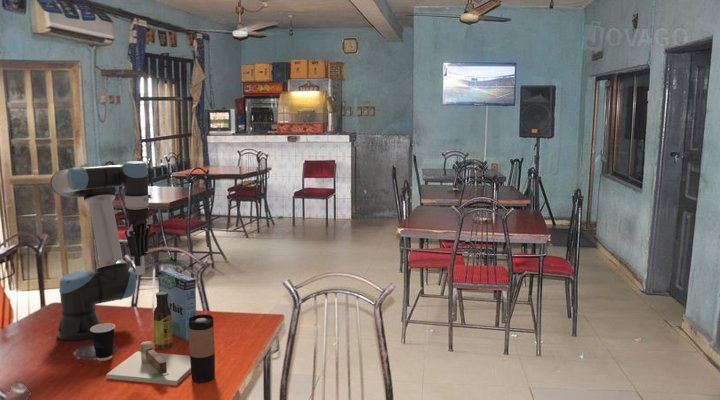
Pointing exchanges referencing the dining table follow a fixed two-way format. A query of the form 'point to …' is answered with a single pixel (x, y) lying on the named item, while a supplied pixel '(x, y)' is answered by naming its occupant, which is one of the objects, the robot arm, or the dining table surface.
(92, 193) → the robot arm
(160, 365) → the grey hammer
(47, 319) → the dining table surface
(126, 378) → the board
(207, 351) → the travel mug
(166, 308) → the sauce bottle
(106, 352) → the dixie cup
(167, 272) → the gum box
